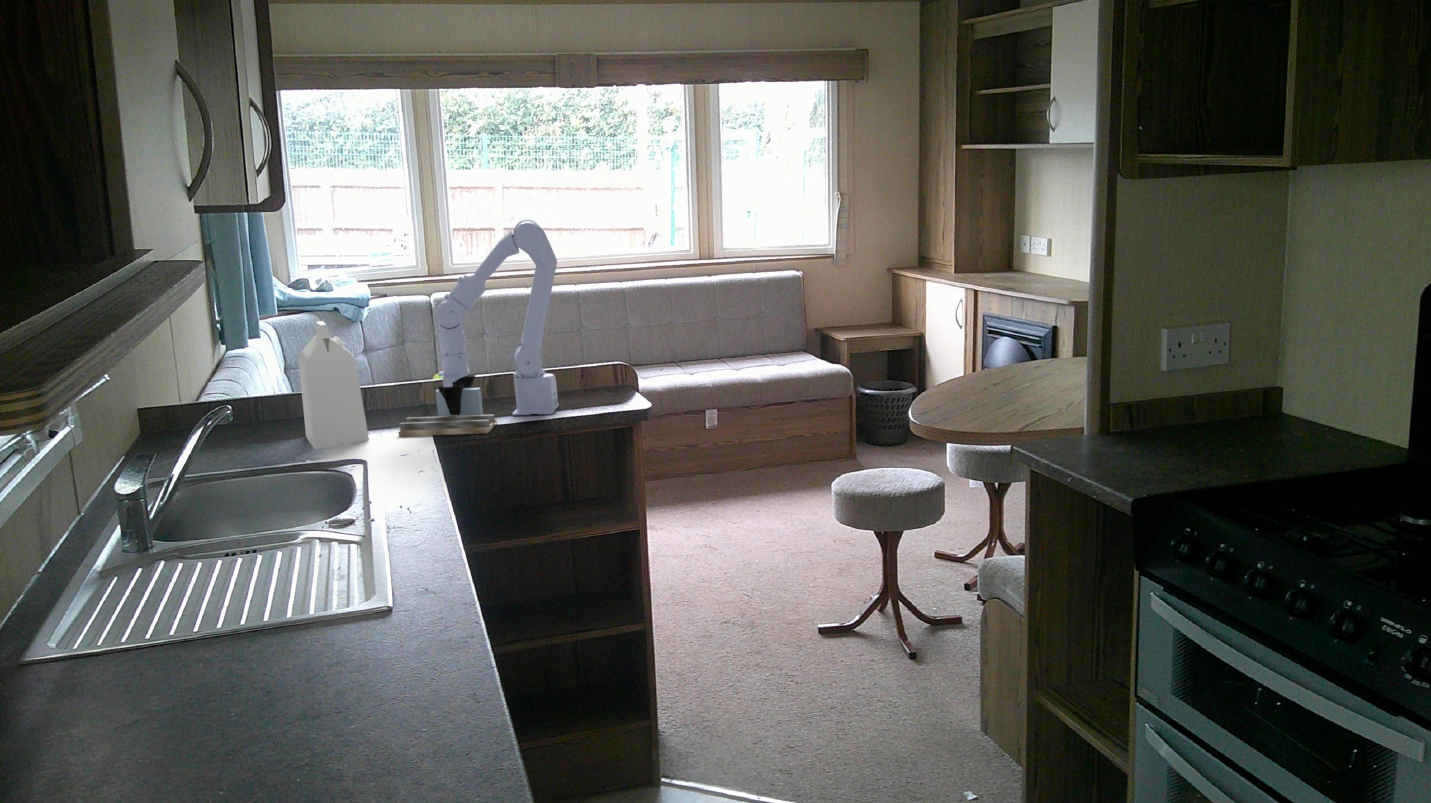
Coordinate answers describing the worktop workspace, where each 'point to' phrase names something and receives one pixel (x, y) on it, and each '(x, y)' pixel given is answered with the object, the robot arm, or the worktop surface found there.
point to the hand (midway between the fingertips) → (460, 410)
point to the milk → (331, 392)
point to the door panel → (462, 403)
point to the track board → (447, 425)
